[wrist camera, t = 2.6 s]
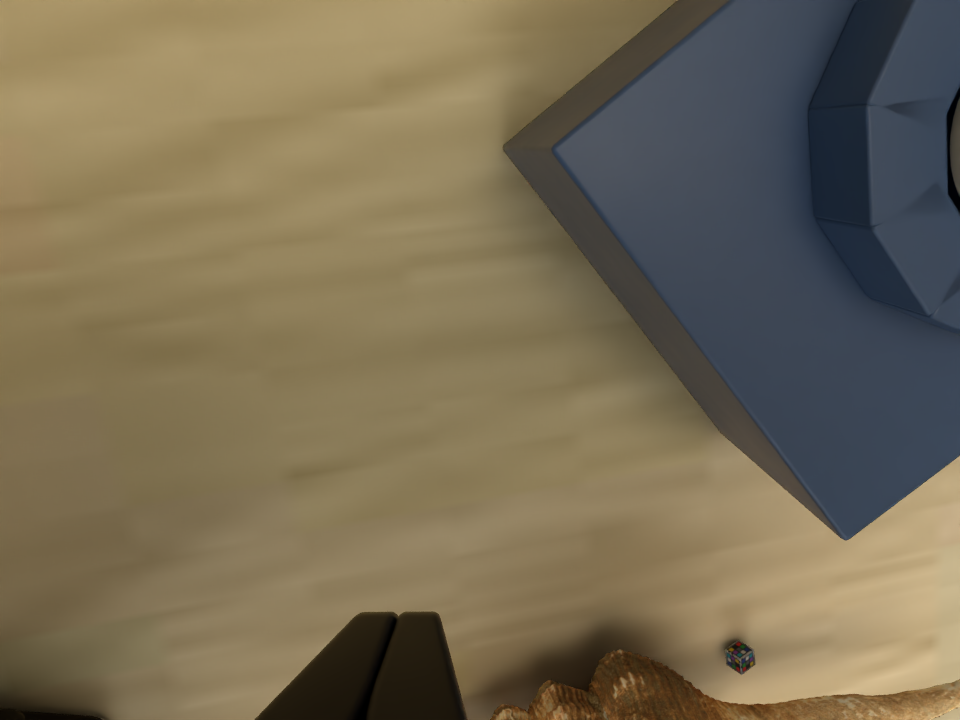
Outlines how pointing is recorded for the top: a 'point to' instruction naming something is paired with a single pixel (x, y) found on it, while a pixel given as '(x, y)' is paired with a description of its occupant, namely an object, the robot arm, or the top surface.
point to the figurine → (694, 716)
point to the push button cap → (955, 147)
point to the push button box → (782, 228)
